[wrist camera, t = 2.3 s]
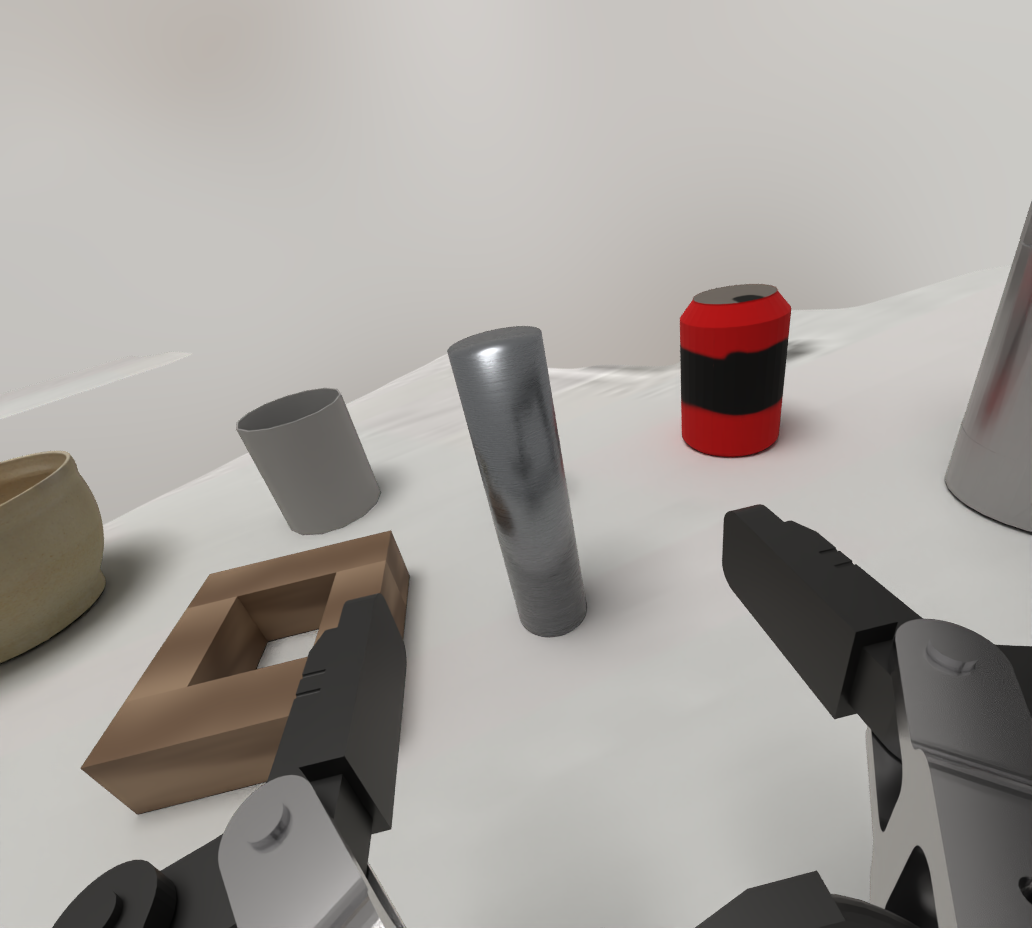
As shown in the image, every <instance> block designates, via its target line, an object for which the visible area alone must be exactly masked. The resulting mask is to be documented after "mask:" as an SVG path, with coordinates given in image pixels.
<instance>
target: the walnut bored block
mask: <svg viewBox="0 0 1032 928" xmlns="http://www.w3.org/2000/svg"><path fill="white" fill-rule="evenodd" d="M409 576H410V575H409V573H408V570H407V568H406V566H405V563H404V561H403V558H402V556H401V553H400V551H399V549H398V546H397V544H396V541H395V539H394V536H393V534H392V532H391V531H387V532H383V533H378V534H374V535H370V536H366V537H362V538H358V539H354V540H349V541H345V542H341V543H337V544H333V545H329V546H325V547H320V548H316V549H312V550H308V551H304V552H300V553H296V554H291V555H287V556H283V557H279V558H275V559H271V560H267V561H262V562H258V563H254V564H250V565H246V566H242V567H238V568H233V569H229V570H225V571H221V572H217V573H213V574H210V575H209V576H208V578H207V579H206V581H205V582H204V584H203V585H202V587H201V588H200V590H199V591H198V593H197V594H196V596H195V597H194V599H193V600H192V602H191V603H190V605H189V606H188V608H187V609H186V611H185V612H184V614H183V615H182V617H181V618H180V620H179V621H178V623H177V624H176V626H175V627H174V629H173V630H172V632H171V633H170V635H169V636H168V638H167V639H166V641H165V642H164V644H163V645H162V647H161V648H160V650H159V651H158V653H157V654H156V656H155V657H154V659H153V660H152V662H151V663H150V665H149V666H148V668H147V669H146V671H145V672H144V674H143V675H142V677H141V678H140V680H139V681H138V683H137V684H136V686H135V687H134V689H133V690H132V692H131V693H130V695H129V696H128V698H127V699H126V701H125V702H124V704H123V705H122V707H121V708H120V710H119V711H118V713H117V714H116V716H115V717H114V719H113V720H112V722H111V723H110V725H109V726H108V728H107V729H106V731H105V732H104V734H103V735H102V737H101V738H100V740H99V741H98V743H97V744H96V746H95V747H94V749H93V750H92V752H91V753H90V755H89V756H88V758H87V759H86V761H85V762H84V764H83V765H82V767H81V769H82V770H83V771H84V772H85V773H87V774H88V775H89V776H90V777H92V778H93V779H94V780H95V781H97V782H98V783H99V784H100V785H101V786H103V787H104V788H105V789H106V790H108V791H109V792H110V793H111V794H113V795H114V796H115V797H116V798H117V799H119V800H120V801H121V802H122V803H124V804H125V805H126V806H127V807H128V808H130V809H131V810H132V811H133V812H135V813H136V814H141V813H145V812H149V811H152V810H156V809H160V808H164V807H168V806H172V805H176V804H180V803H184V802H188V801H192V800H196V799H200V798H203V797H207V796H211V795H215V794H219V793H223V792H227V791H231V790H235V789H239V788H243V787H247V786H251V785H254V784H258V783H262V782H266V781H267V779H268V777H269V774H270V771H271V768H272V765H273V762H274V759H275V756H276V753H277V750H278V747H279V744H280V741H281V738H282V734H283V731H284V728H285V725H286V722H287V719H288V716H289V713H290V710H291V707H292V704H293V701H294V699H296V692H297V688H298V685H299V682H300V679H302V678H303V677H302V673H303V670H304V667H305V664H306V661H307V658H308V657H305V658H301V659H297V660H293V661H289V662H285V663H281V664H277V665H273V666H269V667H265V668H261V669H256V668H257V665H258V663H259V661H260V658H261V656H262V654H263V651H264V649H265V647H266V644H267V642H268V641H271V640H275V639H279V638H283V637H287V636H291V635H295V634H299V633H303V632H308V631H312V630H316V629H319V631H318V634H317V637H316V640H315V644H316V642H317V641H318V639H319V638H320V637H321V635H322V634H323V633H324V631H325V630H328V629H332V628H336V627H338V623H339V620H340V616H341V612H342V609H343V606H344V603H345V602H346V601H348V600H352V599H356V598H360V597H364V596H369V595H373V594H377V593H381V594H382V595H383V596H384V598H385V600H386V602H387V605H388V607H389V609H390V611H391V614H392V616H393V618H394V621H395V623H396V625H397V627H398V630H399V632H400V634H401V637H402V639H403V636H404V626H405V616H406V606H407V596H408V586H409ZM315 644H314V645H315Z"/></svg>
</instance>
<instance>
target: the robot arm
mask: <svg viewBox="0 0 1032 928" xmlns="http://www.w3.org/2000/svg"><path fill="white" fill-rule="evenodd" d="M945 481H946V483H947V486H948V488H949V489H950V491H951V492H952V493H953V494H954V495H955V496H956V497H957V498H958V499H960V500H961V501H962V502H963V503H965V504H966V505H967V506H969V507H971V508H973V509H975V510H976V511H978V512H980V513H982V514H983V515H986V516H988V517H990V518H993V519H995V520H998V521H1000V522H1002V523H1005V524H1008V525H1011V526H1014V527H1017V528H1020V529H1023V530H1026V531H1030V532H1032V202H1031V205H1030V208H1029V211H1028V214H1027V217H1026V221H1025V224H1024V227H1023V231H1022V233H1021V237H1020V241H1019V244H1018V247H1017V250H1016V254H1015V257H1014V260H1013V263H1012V266H1011V270H1010V273H1009V276H1008V279H1007V282H1006V285H1005V289H1004V292H1003V295H1002V298H1001V301H1000V304H999V308H998V311H997V314H996V317H995V320H994V323H993V327H992V330H991V333H990V336H989V339H988V342H987V346H986V349H985V352H984V355H983V358H982V361H981V365H980V368H979V371H978V374H977V377H976V381H975V384H974V387H973V390H972V393H971V396H970V400H969V403H968V406H967V409H966V412H965V415H964V418H963V421H962V424H961V427H960V430H959V433H958V436H957V440H956V443H955V446H954V449H953V452H952V456H951V459H950V462H949V465H948V468H947V472H946V476H945ZM722 566H723V571H724V575H725V577H726V580H727V582H728V584H729V586H730V588H731V589H732V590H733V592H734V593H735V594H736V595H737V597H738V598H739V599H740V601H741V602H742V603H743V604H744V606H745V607H746V608H747V609H748V611H749V612H750V613H751V614H752V616H753V617H754V618H755V619H756V621H757V622H758V623H759V625H760V626H761V627H762V628H763V630H764V631H765V632H766V633H767V635H768V636H769V637H770V638H771V640H772V641H773V642H774V643H775V645H776V646H777V647H778V649H779V650H780V651H781V652H782V654H783V655H784V656H785V657H786V659H787V660H788V661H789V662H790V664H791V665H792V666H793V667H794V669H795V670H796V671H797V673H798V674H799V675H800V676H801V678H802V679H803V680H804V681H805V683H806V684H807V685H808V686H809V688H810V689H811V690H812V691H813V693H814V694H815V695H816V697H817V698H818V699H819V700H820V702H821V703H822V704H823V705H824V707H825V708H826V709H827V710H828V712H829V713H830V714H831V715H832V717H833V718H834V719H837V718H841V717H845V716H849V715H853V714H858V715H859V716H860V717H861V718H862V720H863V721H864V722H865V723H866V724H867V730H866V750H867V763H868V777H869V790H870V803H871V817H872V830H873V854H872V863H871V871H870V903H867V902H865V901H862V900H859V899H854V898H850V897H846V896H841V895H837V894H830V892H829V891H828V889H827V887H826V885H825V884H824V882H823V880H822V879H821V877H820V875H819V873H818V872H817V871H814V872H810V873H806V874H802V875H798V876H795V877H791V878H787V879H783V880H780V881H776V882H772V883H768V884H764V885H761V886H757V887H753V888H749V889H747V890H745V891H744V892H743V893H741V894H740V895H738V896H737V897H736V898H734V899H733V900H732V901H730V902H729V903H728V904H726V905H725V906H724V907H722V908H721V909H720V910H718V911H717V912H716V913H714V914H713V915H712V916H710V917H709V918H707V919H706V920H705V921H703V922H702V923H701V924H699V925H698V926H697V927H695V928H1032V646H1008V645H994V644H993V643H992V642H990V641H989V640H987V639H986V638H984V637H983V636H981V635H979V634H977V633H975V632H974V631H972V630H969V629H967V628H965V627H962V626H959V625H956V624H954V623H950V622H946V621H941V620H935V619H923V618H922V617H920V616H919V615H918V614H916V613H915V612H914V611H913V610H912V609H910V608H909V607H908V606H907V605H905V604H904V603H903V602H902V601H901V600H899V599H898V598H897V597H896V596H894V595H893V594H892V593H891V592H890V591H888V590H887V589H886V588H885V587H883V586H882V585H881V584H880V583H878V582H877V581H876V580H875V579H874V578H872V577H871V576H870V575H869V574H867V573H866V572H865V571H864V570H863V569H861V568H860V567H859V566H858V565H854V564H853V563H852V560H850V559H849V558H848V557H847V556H845V555H844V554H843V553H842V552H841V551H837V550H836V547H834V546H833V545H832V544H831V543H830V542H828V541H827V540H826V539H825V538H823V537H822V536H821V535H820V534H819V533H817V532H816V531H814V530H811V529H809V528H807V527H805V526H802V525H800V524H798V523H796V522H794V521H787V522H783V521H782V520H781V519H780V518H779V517H777V516H776V515H775V514H774V513H773V512H772V511H770V510H769V509H768V508H767V507H766V506H764V505H761V504H760V505H754V506H750V507H746V508H742V509H737V510H733V511H729V512H727V513H726V514H725V517H724V530H723V555H722ZM302 677H303V678H302V679H300V682H299V685H298V688H297V692H296V699H294V701H293V704H292V707H291V710H290V713H289V716H288V719H287V722H286V725H285V728H284V731H283V734H282V738H281V741H280V744H279V747H278V750H277V753H276V756H275V759H274V762H273V765H272V768H271V771H270V774H269V777H268V779H267V782H266V784H264V785H263V786H261V787H260V788H259V789H257V790H256V791H255V792H253V793H252V794H251V795H250V796H249V797H248V798H247V799H246V800H245V801H244V802H243V803H242V805H241V806H240V807H239V808H238V809H237V811H236V812H235V814H234V815H233V816H232V818H231V820H230V821H229V823H228V825H227V827H226V829H225V831H224V833H223V834H222V835H220V836H219V837H217V838H216V839H214V840H212V841H211V842H209V843H207V844H206V845H204V846H202V847H201V848H199V849H197V850H195V851H194V852H192V853H190V854H189V855H187V856H185V857H183V858H182V859H180V860H178V861H177V862H175V863H173V864H171V865H170V866H168V867H166V868H165V869H163V870H161V871H159V870H158V869H156V868H155V867H154V866H153V865H151V864H150V863H149V862H147V861H144V860H132V861H128V862H125V863H122V864H120V865H118V866H116V867H114V868H112V869H110V870H108V871H107V872H105V873H104V874H103V875H101V876H100V877H98V878H97V879H96V880H95V881H93V882H92V883H91V884H90V885H88V886H87V887H86V888H85V889H84V890H83V891H82V892H81V893H80V894H79V895H78V896H77V897H76V898H75V899H74V900H73V901H72V902H71V904H70V905H69V906H68V907H67V908H66V910H65V911H64V912H63V913H62V915H61V916H60V917H59V919H58V920H57V921H56V923H55V924H54V926H53V927H52V928H406V926H405V924H404V923H403V921H402V919H401V918H400V916H399V914H398V912H397V911H396V909H395V907H394V905H393V904H392V902H391V900H390V899H389V897H388V895H387V893H386V892H385V890H384V888H383V886H382V885H381V883H380V881H379V880H378V878H377V876H376V874H375V873H374V871H373V869H372V867H371V866H370V864H369V863H368V856H369V848H370V840H371V834H374V833H378V832H382V831H386V830H390V829H391V827H392V816H393V806H394V795H395V784H396V773H397V763H398V752H399V741H400V730H401V720H402V709H403V698H404V687H405V677H406V652H405V646H404V642H403V639H402V637H401V634H400V632H399V630H398V627H397V625H396V623H395V621H394V618H393V616H392V614H391V611H390V609H389V607H388V605H387V602H386V600H385V598H384V596H383V595H382V594H381V593H377V594H373V595H369V596H364V597H360V598H356V599H352V600H348V601H346V602H345V603H344V606H343V609H342V612H341V616H340V620H339V623H338V627H336V628H332V629H328V630H325V631H324V633H323V634H322V635H321V637H320V638H319V639H318V641H317V642H316V644H315V645H314V646H313V648H312V649H311V650H310V652H309V655H308V658H307V661H306V664H305V667H304V670H303V673H302Z"/></svg>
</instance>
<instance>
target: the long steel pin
mask: <svg viewBox="0 0 1032 928" xmlns="http://www.w3.org/2000/svg"><path fill="white" fill-rule="evenodd" d="M447 352H448V355H449V359H450V363H451V366H452V370H453V374H454V378H455V381H456V385H457V389H458V392H459V396H460V400H461V403H462V407H463V411H464V414H465V418H466V422H467V425H468V429H469V433H470V437H471V440H472V444H473V448H474V451H475V455H476V459H477V462H478V466H479V470H480V473H481V477H482V481H483V485H484V488H485V492H486V496H487V499H488V503H489V507H490V510H491V514H492V518H493V521H494V525H495V529H496V532H497V536H498V540H499V544H500V547H501V551H502V555H503V558H504V562H505V566H506V569H507V573H508V577H509V580H510V584H511V588H512V592H513V595H514V599H515V603H516V606H517V610H518V614H519V617H520V621H521V623H522V624H523V626H524V627H525V628H526V629H527V630H528V631H530V632H531V633H533V634H536V635H539V636H544V637H555V636H560V635H563V634H566V633H568V632H570V631H572V630H573V629H575V628H576V627H577V626H578V625H579V624H580V623H581V622H582V620H583V619H584V617H585V614H586V609H587V606H586V599H585V593H584V587H583V581H582V575H581V569H580V563H579V557H578V551H577V545H576V538H575V532H574V526H573V520H572V514H571V508H570V502H569V496H568V490H567V484H566V478H565V472H564V466H563V460H562V454H561V448H560V441H559V435H558V429H557V423H556V417H555V411H554V405H553V399H552V393H551V387H550V381H549V375H548V369H547V363H546V357H545V351H544V345H543V339H542V332H541V330H540V329H539V328H536V327H530V326H517V327H508V328H501V329H495V330H491V331H486V332H483V333H479V334H476V335H473V336H470V337H467V338H465V339H463V340H461V341H458V342H457V343H455V344H453V345H452V346H451V347H450V348H449V349H448V351H447Z"/></svg>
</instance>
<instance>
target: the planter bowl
mask: <svg viewBox="0 0 1032 928" xmlns="http://www.w3.org/2000/svg"><path fill="white" fill-rule="evenodd" d="M103 549H104V534H103V524H102V519H101V515H100V511H99V508H98V505H97V502H96V500H95V498H94V496H93V494H92V492H91V490H90V489H89V486H88V485H87V483H86V482H85V480H84V479H83V478H82V476H81V475H80V474H79V472H78V469H77V465H76V463H75V461H74V459H73V458H72V456H71V455H70V454H69V453H68V452H65V451H47V452H40V453H35V454H30V455H26V456H21V457H17V458H13V459H10V460H7V461H3V462H0V663H2V662H4V661H7V660H9V659H11V658H13V657H15V656H18V655H20V654H22V653H24V652H26V651H28V650H30V649H31V648H33V647H35V646H37V645H39V644H40V643H42V642H44V641H47V640H49V639H50V638H51V637H52V636H53V635H55V634H56V633H58V632H59V631H61V630H62V629H64V628H65V627H67V626H68V625H69V624H71V623H72V622H73V621H74V620H76V619H77V618H78V617H79V616H81V615H82V614H83V613H84V612H85V611H86V610H87V609H88V608H89V607H90V606H91V605H92V604H93V603H94V602H95V601H96V600H97V599H98V597H99V596H100V595H101V593H102V591H103V590H104V587H105V584H106V581H105V577H104V575H103V573H102V571H101V569H100V566H101V562H102V557H103Z"/></svg>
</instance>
